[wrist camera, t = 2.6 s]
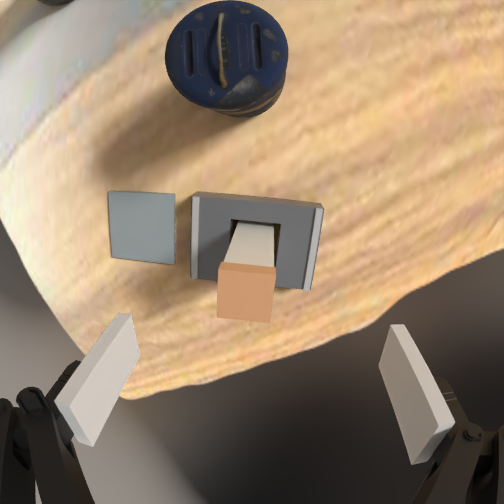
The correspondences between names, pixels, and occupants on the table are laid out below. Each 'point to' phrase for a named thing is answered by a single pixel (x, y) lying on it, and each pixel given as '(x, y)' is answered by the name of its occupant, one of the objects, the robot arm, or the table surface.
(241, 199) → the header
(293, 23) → the table surface
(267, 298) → the plug
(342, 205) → the table surface
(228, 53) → the canister
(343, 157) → the table surface
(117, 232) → the pad
